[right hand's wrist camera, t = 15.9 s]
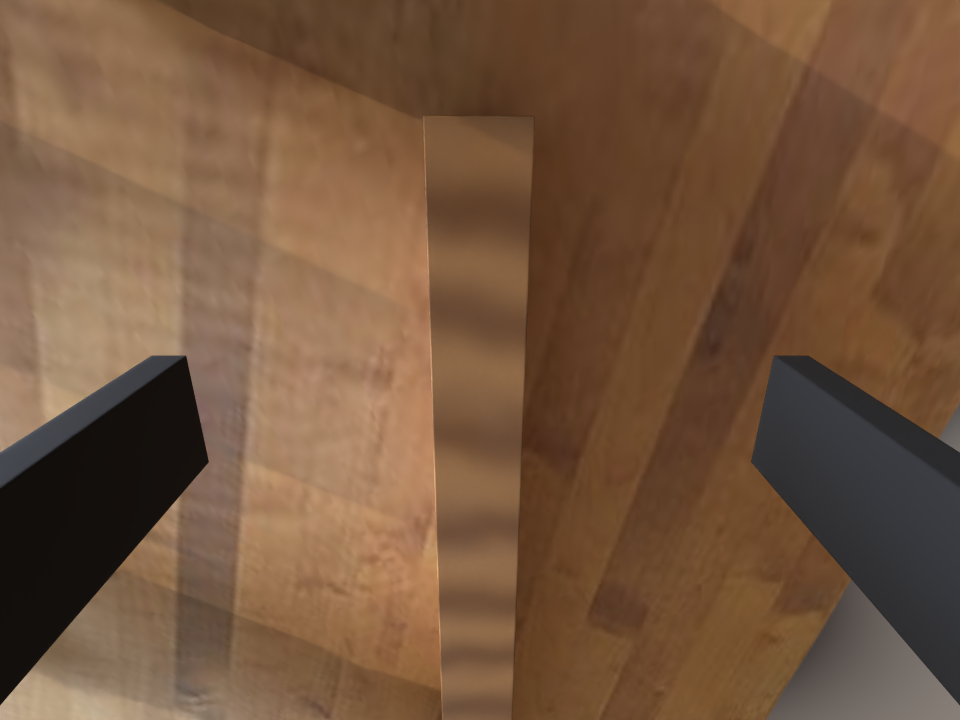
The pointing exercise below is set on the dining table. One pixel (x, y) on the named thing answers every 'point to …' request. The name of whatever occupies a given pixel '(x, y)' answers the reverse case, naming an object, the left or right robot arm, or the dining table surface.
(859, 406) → the right robot arm
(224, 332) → the dining table surface
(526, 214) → the post
